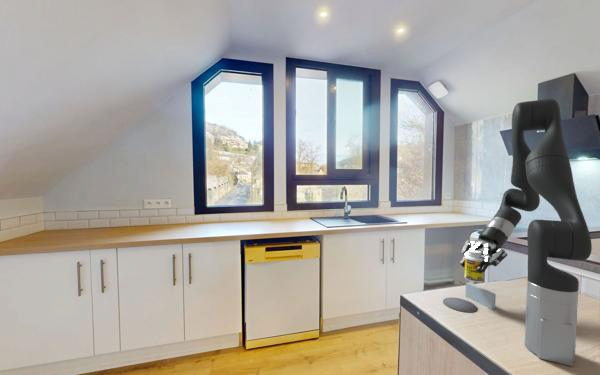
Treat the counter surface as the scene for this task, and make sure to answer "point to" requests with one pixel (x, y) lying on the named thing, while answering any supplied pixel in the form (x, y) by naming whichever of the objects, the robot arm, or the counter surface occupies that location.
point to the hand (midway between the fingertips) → (470, 268)
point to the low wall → (481, 295)
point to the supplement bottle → (473, 266)
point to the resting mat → (460, 304)
